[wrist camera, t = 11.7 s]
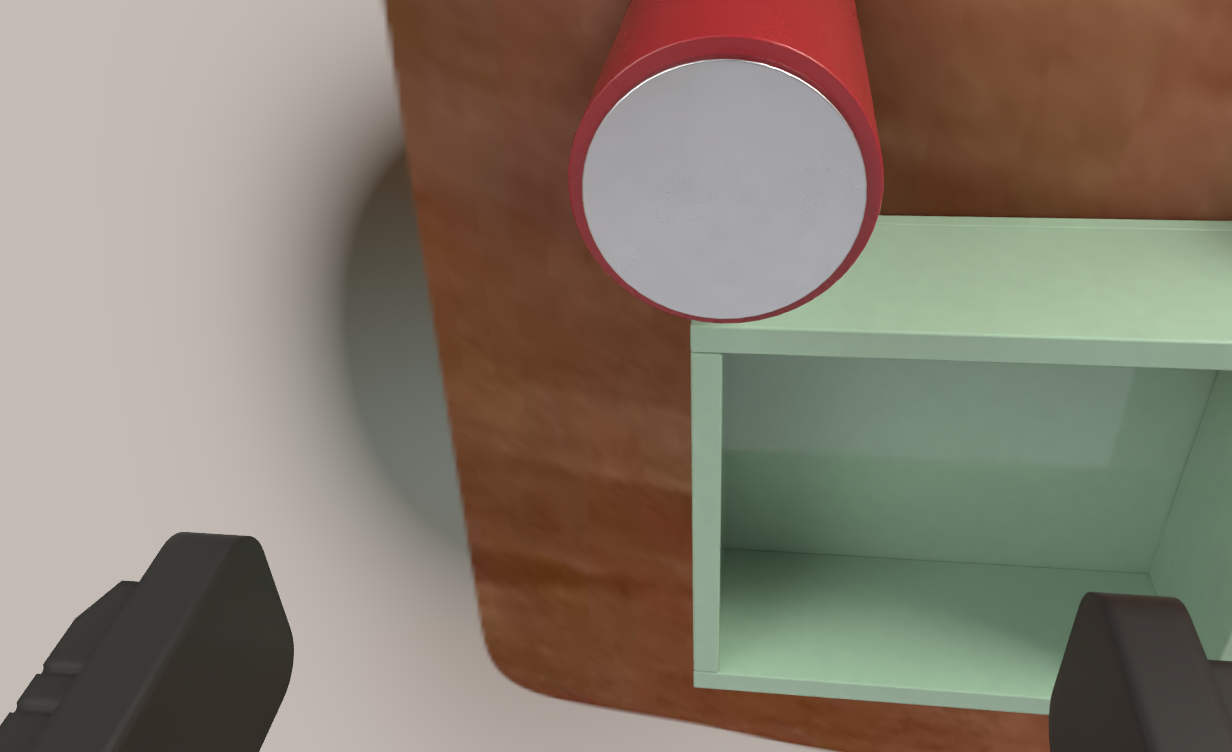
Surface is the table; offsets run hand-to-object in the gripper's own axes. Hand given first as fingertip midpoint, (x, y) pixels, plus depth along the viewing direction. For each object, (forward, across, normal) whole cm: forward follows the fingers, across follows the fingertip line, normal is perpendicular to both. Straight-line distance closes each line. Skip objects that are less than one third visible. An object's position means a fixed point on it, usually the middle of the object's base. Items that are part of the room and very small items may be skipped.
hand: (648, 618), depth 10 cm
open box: (+20, -7, +13) cm, 25 cm away
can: (+20, 0, 0) cm, 20 cm away
